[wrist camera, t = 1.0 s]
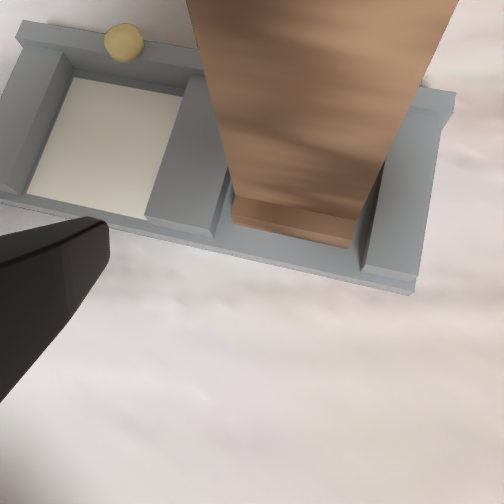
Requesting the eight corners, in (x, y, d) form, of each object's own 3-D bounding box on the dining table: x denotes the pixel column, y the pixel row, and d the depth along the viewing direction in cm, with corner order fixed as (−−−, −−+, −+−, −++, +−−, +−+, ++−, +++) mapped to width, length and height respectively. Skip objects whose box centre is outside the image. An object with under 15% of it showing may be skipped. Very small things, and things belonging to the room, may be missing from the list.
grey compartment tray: (437, 119, 25) (461, 78, 22) (408, 295, 23) (431, 280, 19) (51, 51, 28) (19, 5, 25) (-13, 199, 26) (-59, 171, 22)
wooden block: (369, 145, 24) (488, -178, 10) (348, 249, 23) (453, 37, 9) (261, 124, 25) (233, -202, 11) (233, 224, 23) (161, -7, 9)
